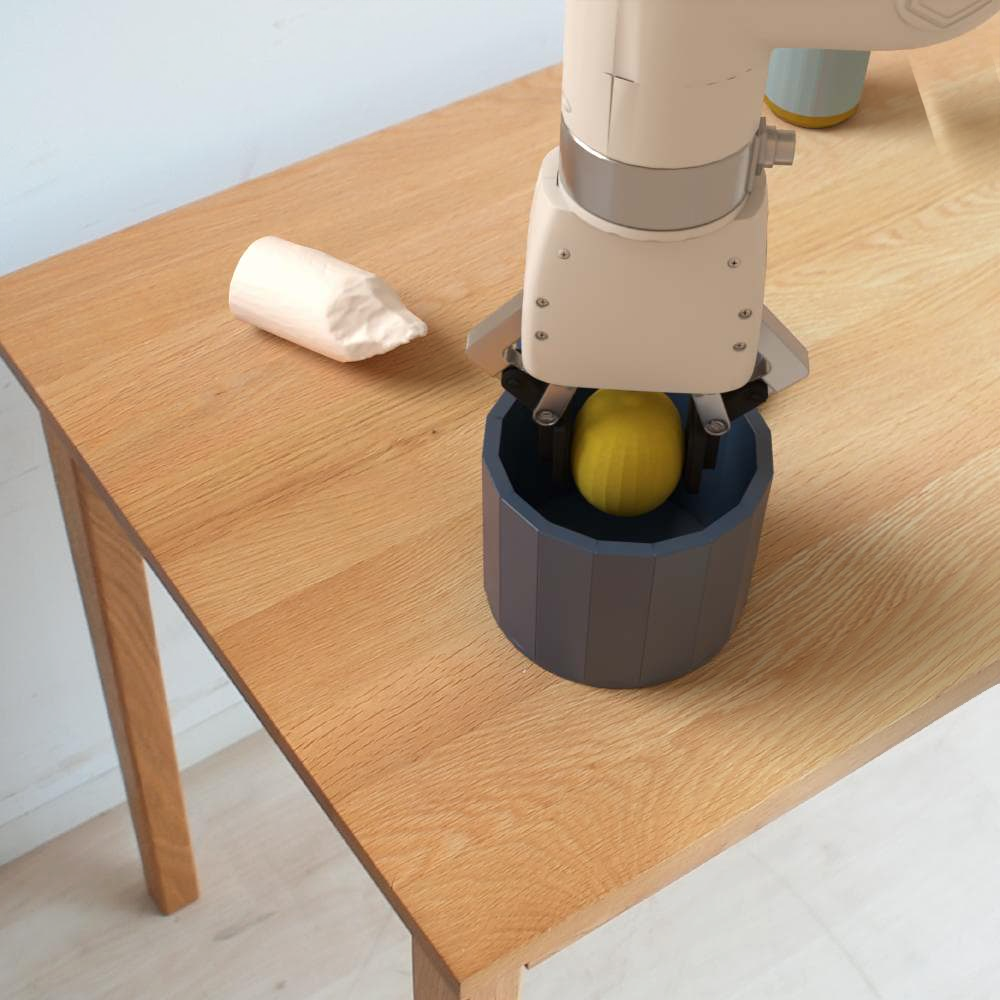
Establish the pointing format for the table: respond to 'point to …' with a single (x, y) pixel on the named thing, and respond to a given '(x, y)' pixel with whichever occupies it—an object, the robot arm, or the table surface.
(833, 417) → the table surface
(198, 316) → the table surface
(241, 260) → the broken white chalk
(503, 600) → the pot
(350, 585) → the table surface
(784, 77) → the bottle
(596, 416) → the lemon
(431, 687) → the table surface
